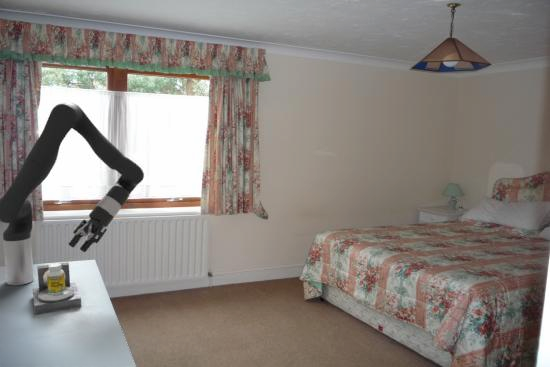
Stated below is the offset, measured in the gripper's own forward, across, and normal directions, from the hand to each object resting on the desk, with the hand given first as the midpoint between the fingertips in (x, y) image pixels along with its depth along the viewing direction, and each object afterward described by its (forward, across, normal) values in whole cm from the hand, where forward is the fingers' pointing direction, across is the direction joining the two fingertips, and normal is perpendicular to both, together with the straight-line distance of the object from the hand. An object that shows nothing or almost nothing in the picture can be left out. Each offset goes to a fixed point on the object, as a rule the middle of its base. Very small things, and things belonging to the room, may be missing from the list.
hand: (76, 248), depth 164 cm
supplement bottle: (+15, 0, +5) cm, 16 cm away
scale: (+18, -2, +8) cm, 19 cm away
